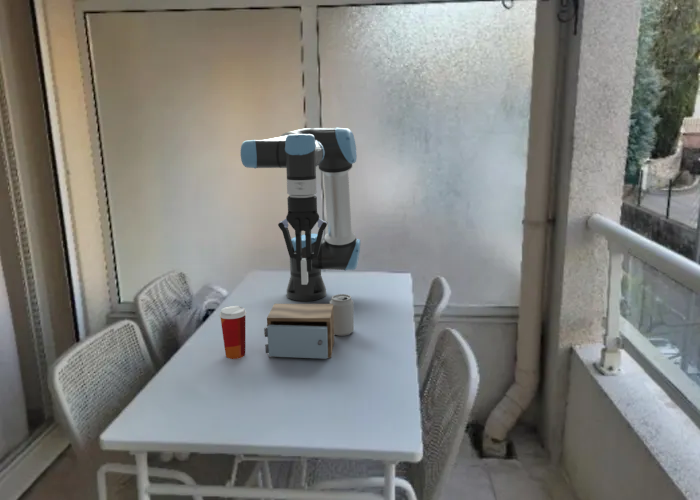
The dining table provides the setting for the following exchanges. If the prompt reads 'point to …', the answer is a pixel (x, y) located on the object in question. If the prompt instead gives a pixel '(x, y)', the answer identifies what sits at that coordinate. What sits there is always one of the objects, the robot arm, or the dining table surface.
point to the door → (297, 341)
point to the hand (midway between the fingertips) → (304, 282)
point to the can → (343, 314)
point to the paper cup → (233, 331)
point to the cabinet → (305, 317)
